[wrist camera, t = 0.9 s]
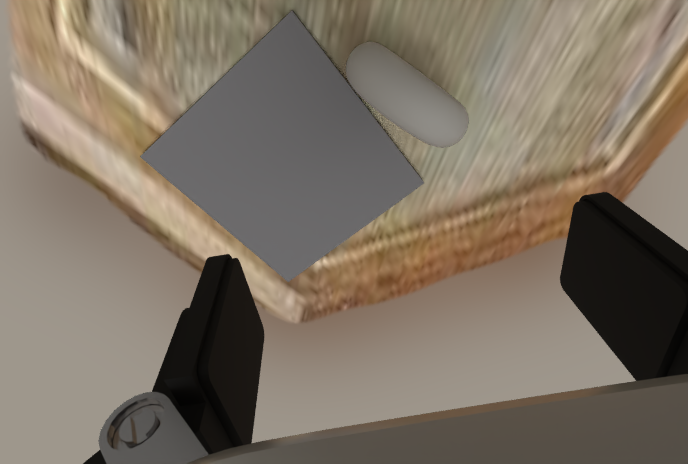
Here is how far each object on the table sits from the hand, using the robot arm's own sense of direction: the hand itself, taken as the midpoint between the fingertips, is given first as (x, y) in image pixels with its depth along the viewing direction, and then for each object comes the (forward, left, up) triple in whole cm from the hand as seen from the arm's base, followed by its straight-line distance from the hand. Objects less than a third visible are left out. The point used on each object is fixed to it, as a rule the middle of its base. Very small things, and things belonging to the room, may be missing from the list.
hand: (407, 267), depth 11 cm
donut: (-4, +3, -25) cm, 26 cm away
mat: (+8, +3, -25) cm, 27 cm away
